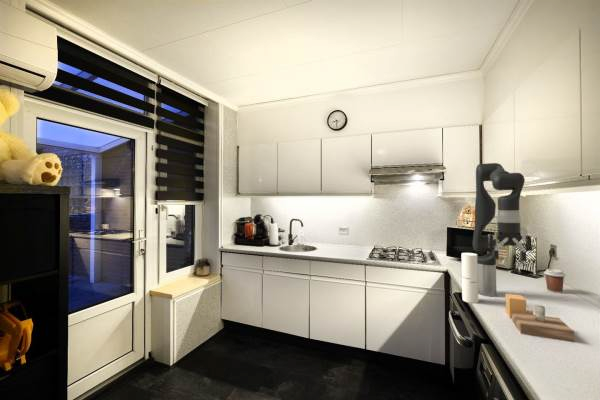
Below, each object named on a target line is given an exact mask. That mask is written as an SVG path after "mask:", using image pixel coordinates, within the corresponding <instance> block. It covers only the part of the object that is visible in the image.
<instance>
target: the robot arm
mask: <svg viewBox="0 0 600 400" xmlns="http://www.w3.org/2000/svg"><path fill="white" fill-rule="evenodd" d="M484 182H491V186H492V187H493V189H494V190H497V191H511V193H509V194H508V195H507V194H506V195H503V196H499V197H498V198H497V205H496V202H495V200H494V198H492V196H491V195H490V194H489V193H488V191H487V189H486V186H485V185H484V184H485V183H484ZM525 182H526V181H525V177H524V174H522V173H520V172H509V171H507V170H505V168H504V167H503V165H502V164H500V163H497V162H491V163H479V164H477V166H476V168H475V188H476V189H475V192H476V193H475V204H474V227H473V229H474V230H473V237H472V248H473V250H474V251H475V252H481V253H482V252H484V253H486V254H483V255H481V256H477V266H478V295H482V296H487V297H497V260H499V259H500V258H499V257H500V256H499V249H500V248H502V247H503V246H506V247H507V246H510V247H515V246H516V247H517V248H518V249H519V250H520V252H519V253H520V254H519V255H520V256H519V258H520V261H521V262H525V261H526V260H527V252H531V251H532V250H533V246H532V245H533V244H532V237H531V235H527V234H526V235H522V233H521V213H520V199H521V198H520V197H521V193H522V191H523V187H524V185H525ZM496 208H497V215H496ZM496 216H497V219H496V221H497V225H496V226H497V233H496V234H491V233H490V234H488V235H483V234H482V233H483V231H484V230H485V229H486V227H487V226H488V225H489V224H490V223H491V222H492V221H493V220H494V218H495V217H496ZM497 240H498V241H497ZM521 240H523V241H524V242H525V246H523V244H522V243H520V241H521Z"/></svg>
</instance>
